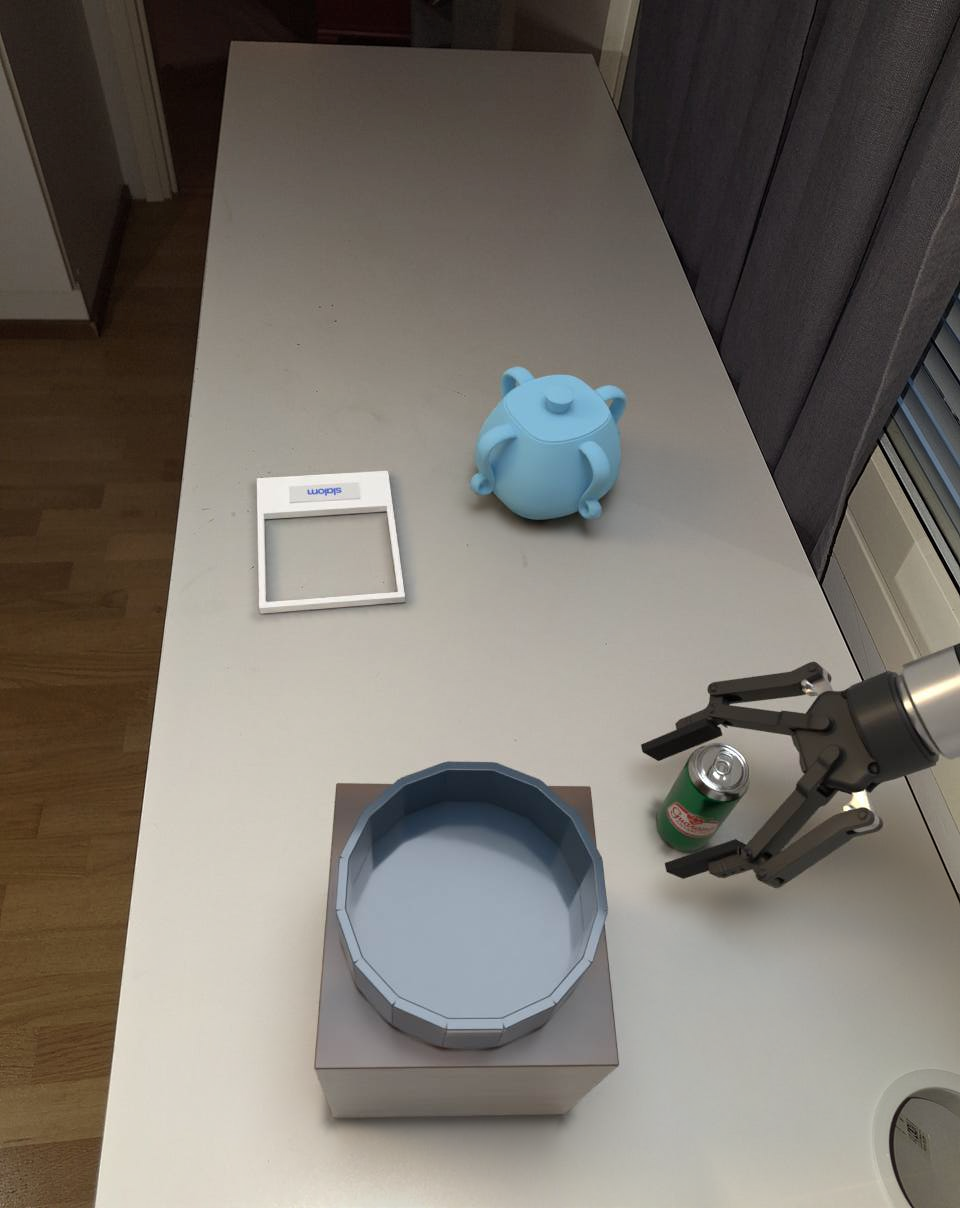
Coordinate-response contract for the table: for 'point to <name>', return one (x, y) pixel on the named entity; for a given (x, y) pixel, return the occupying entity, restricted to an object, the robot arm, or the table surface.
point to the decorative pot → (550, 445)
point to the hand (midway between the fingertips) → (661, 809)
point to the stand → (445, 1075)
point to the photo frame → (325, 499)
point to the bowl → (469, 903)
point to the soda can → (703, 796)
